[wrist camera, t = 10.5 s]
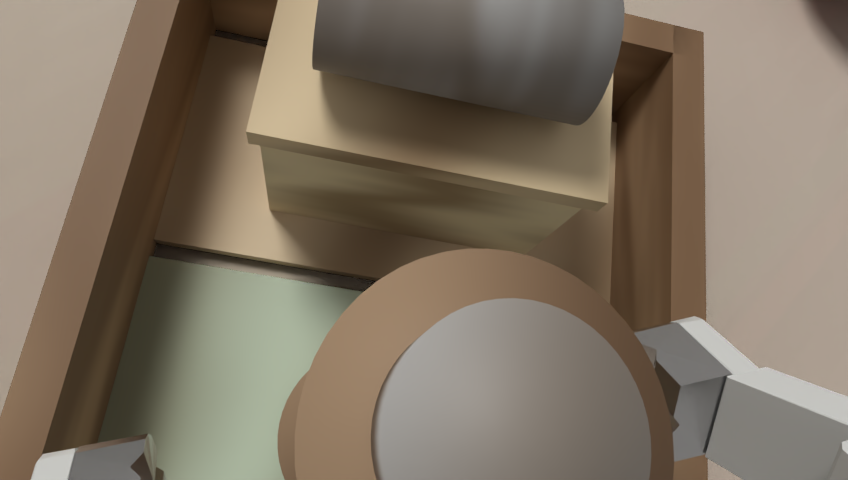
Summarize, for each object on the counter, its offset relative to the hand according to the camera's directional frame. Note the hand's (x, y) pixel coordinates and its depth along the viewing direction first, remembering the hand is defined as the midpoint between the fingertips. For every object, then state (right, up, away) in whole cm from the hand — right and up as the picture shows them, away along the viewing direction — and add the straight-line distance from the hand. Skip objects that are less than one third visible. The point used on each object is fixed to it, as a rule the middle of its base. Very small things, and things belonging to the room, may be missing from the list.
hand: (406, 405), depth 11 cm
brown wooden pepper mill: (-1, -3, +7) cm, 7 cm away
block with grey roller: (0, +5, +10) cm, 11 cm away
